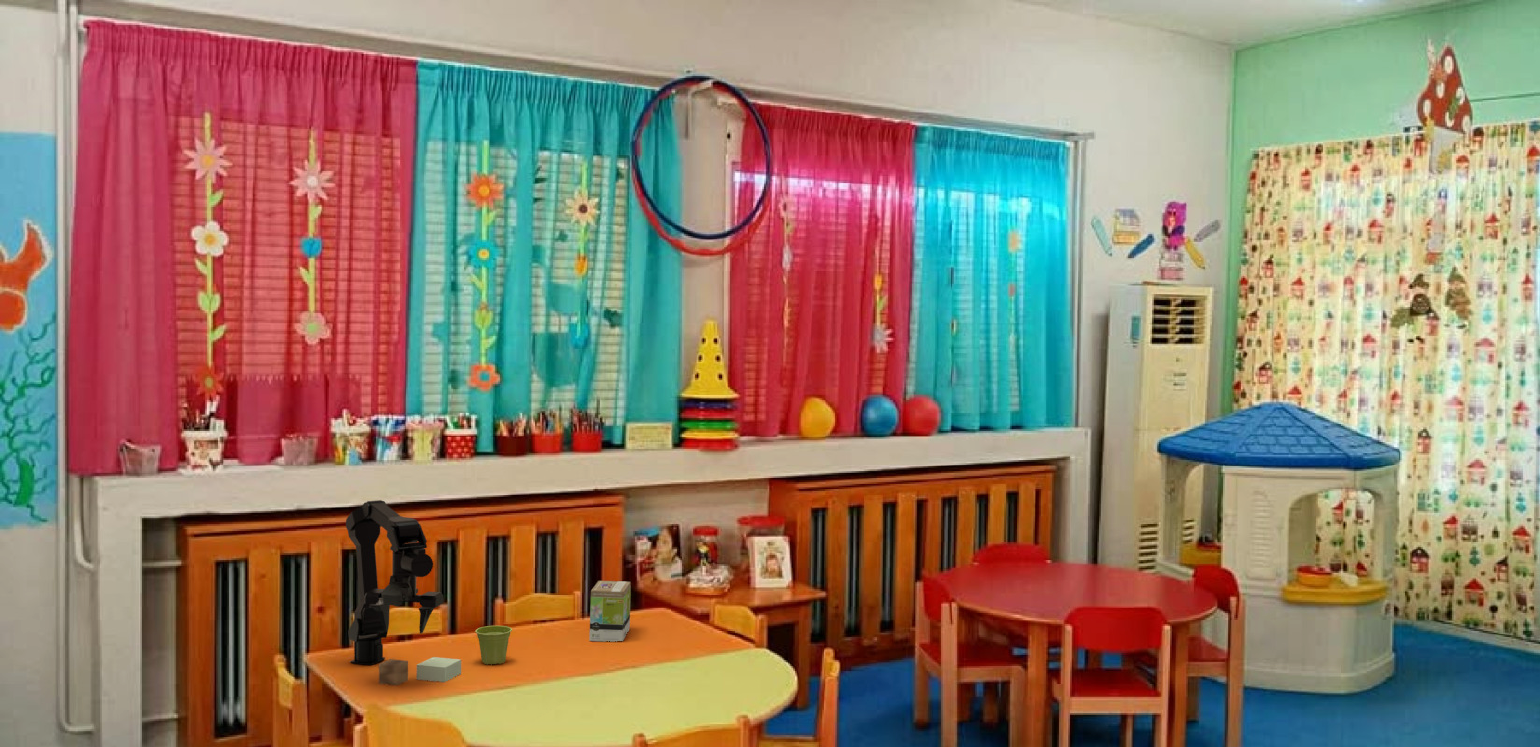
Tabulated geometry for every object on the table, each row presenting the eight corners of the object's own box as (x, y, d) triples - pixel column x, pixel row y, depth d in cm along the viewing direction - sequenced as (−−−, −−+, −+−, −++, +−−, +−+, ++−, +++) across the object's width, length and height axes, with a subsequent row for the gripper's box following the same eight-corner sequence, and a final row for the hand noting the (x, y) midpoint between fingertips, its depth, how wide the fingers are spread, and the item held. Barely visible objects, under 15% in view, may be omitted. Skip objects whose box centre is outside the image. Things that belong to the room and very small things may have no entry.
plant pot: (503, 668, 333) (503, 635, 333) (469, 665, 335) (469, 632, 335) (517, 659, 343) (517, 626, 342) (484, 656, 344) (484, 624, 344)
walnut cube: (379, 684, 317) (379, 664, 317) (390, 678, 322) (390, 659, 322) (396, 686, 316) (396, 666, 316) (407, 680, 321) (408, 661, 321)
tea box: (624, 642, 362) (624, 590, 361) (588, 642, 362) (589, 590, 361) (630, 630, 377) (631, 580, 376) (596, 629, 377) (597, 579, 376)
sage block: (416, 680, 322) (416, 664, 322) (433, 672, 329) (433, 657, 329) (444, 683, 319) (445, 667, 319) (461, 675, 327) (461, 659, 327)
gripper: (354, 574, 313) (353, 638, 313) (426, 578, 310) (426, 642, 311) (374, 566, 324) (374, 627, 325) (444, 569, 321) (444, 631, 322)
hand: (403, 632), depth 320 cm, fingers open, 9 cm apart
